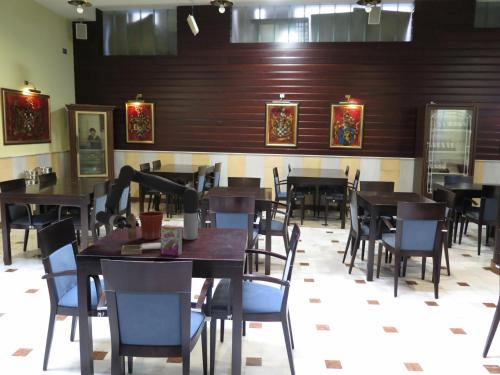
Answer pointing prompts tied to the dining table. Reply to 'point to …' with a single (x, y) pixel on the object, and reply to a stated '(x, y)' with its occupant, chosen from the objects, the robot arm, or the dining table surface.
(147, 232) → the flower pot
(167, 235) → the candy bar box
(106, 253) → the dining table surface
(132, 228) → the pepper mill
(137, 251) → the collar
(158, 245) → the mat
